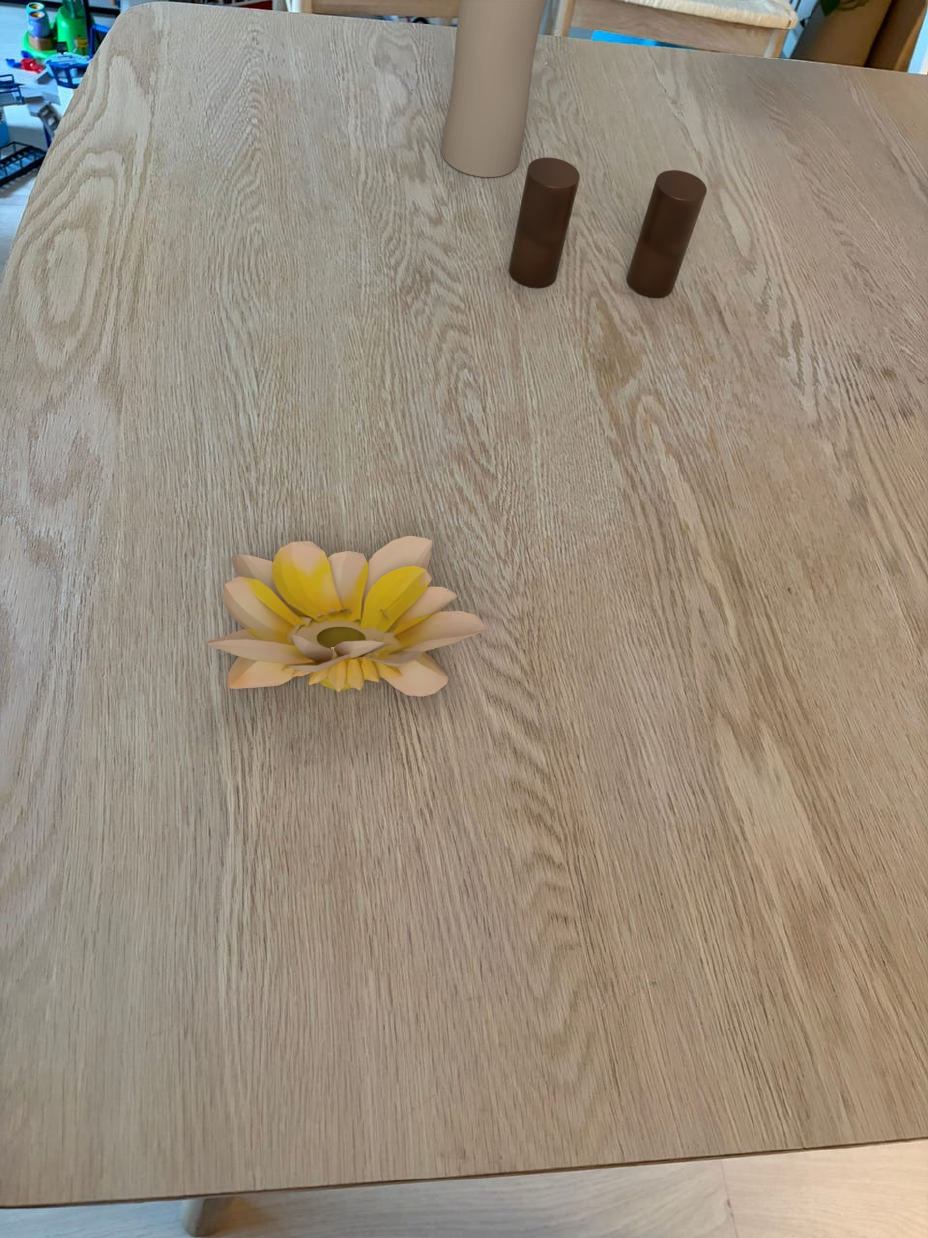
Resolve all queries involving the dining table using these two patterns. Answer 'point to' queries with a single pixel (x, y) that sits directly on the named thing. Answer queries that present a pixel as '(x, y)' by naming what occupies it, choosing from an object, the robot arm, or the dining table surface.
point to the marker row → (550, 216)
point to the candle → (491, 85)
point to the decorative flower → (341, 618)
